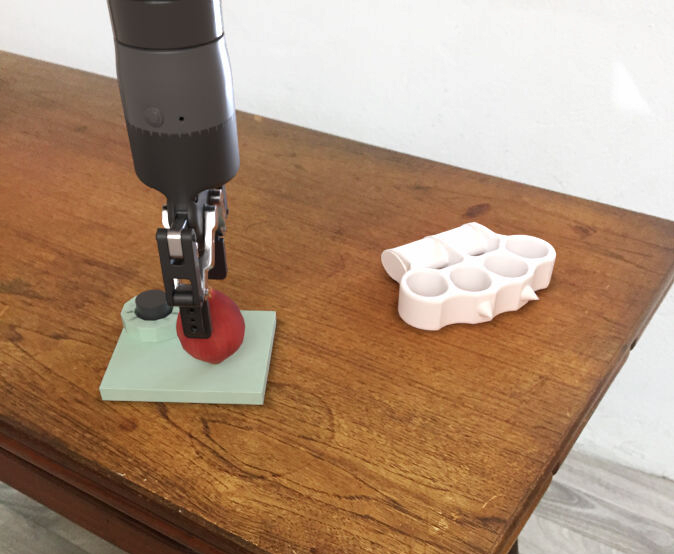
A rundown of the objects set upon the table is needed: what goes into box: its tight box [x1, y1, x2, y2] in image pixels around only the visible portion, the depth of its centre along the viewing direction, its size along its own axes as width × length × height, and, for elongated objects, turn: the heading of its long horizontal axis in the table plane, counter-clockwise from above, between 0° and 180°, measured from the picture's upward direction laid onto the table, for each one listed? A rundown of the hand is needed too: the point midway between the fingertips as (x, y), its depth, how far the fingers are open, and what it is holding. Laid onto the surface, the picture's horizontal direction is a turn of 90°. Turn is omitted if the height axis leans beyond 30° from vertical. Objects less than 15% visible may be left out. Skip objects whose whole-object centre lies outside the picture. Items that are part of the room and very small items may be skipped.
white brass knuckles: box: [380, 221, 557, 331], centre depth 76 cm, size 3×18×15 cm
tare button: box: [135, 289, 171, 321], centre depth 69 cm, size 3×3×2 cm
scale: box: [98, 295, 277, 406], centre depth 68 cm, size 14×12×3 cm
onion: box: [176, 284, 246, 364], centre depth 63 cm, size 6×6×8 cm
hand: (207, 305), depth 62 cm, fingers open, 8 cm apart
